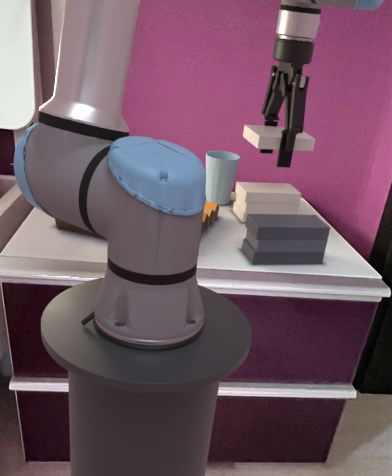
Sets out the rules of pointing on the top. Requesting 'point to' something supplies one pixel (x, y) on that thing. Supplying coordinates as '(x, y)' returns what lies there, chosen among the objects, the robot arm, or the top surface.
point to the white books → (265, 199)
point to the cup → (220, 175)
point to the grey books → (285, 239)
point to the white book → (275, 138)
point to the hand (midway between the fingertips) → (274, 159)
